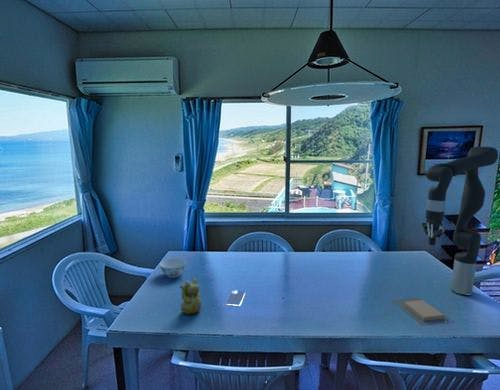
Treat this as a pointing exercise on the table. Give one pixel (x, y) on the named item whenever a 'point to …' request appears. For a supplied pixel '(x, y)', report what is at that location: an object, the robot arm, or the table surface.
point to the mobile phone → (235, 298)
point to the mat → (430, 322)
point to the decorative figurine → (190, 297)
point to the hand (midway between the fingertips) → (431, 244)
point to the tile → (423, 310)
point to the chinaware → (173, 266)
